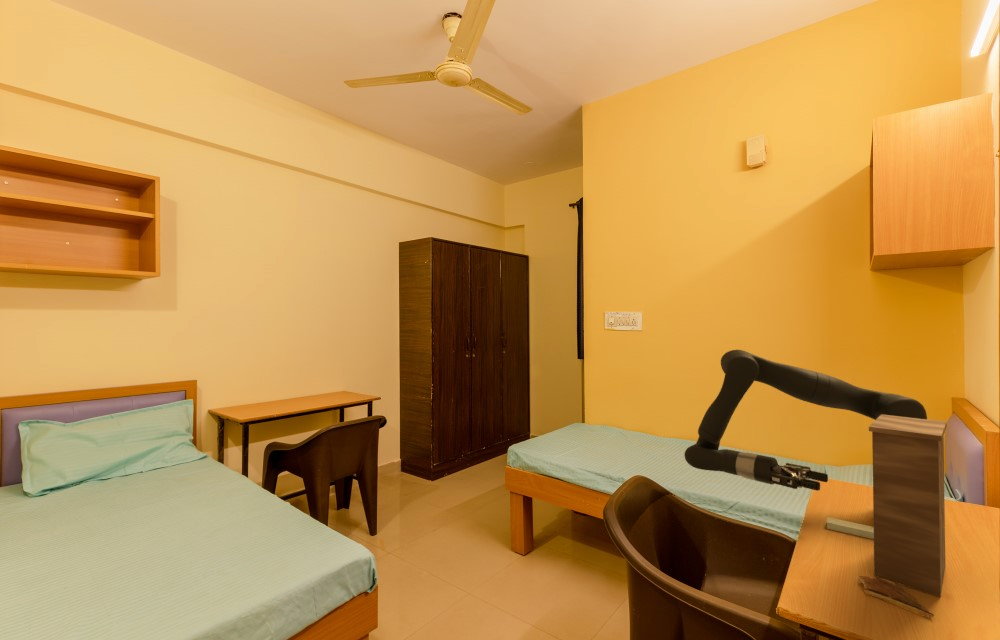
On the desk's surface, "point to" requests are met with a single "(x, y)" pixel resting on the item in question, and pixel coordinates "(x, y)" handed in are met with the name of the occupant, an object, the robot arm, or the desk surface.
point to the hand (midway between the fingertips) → (823, 482)
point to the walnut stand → (909, 501)
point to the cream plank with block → (850, 527)
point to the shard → (893, 594)
